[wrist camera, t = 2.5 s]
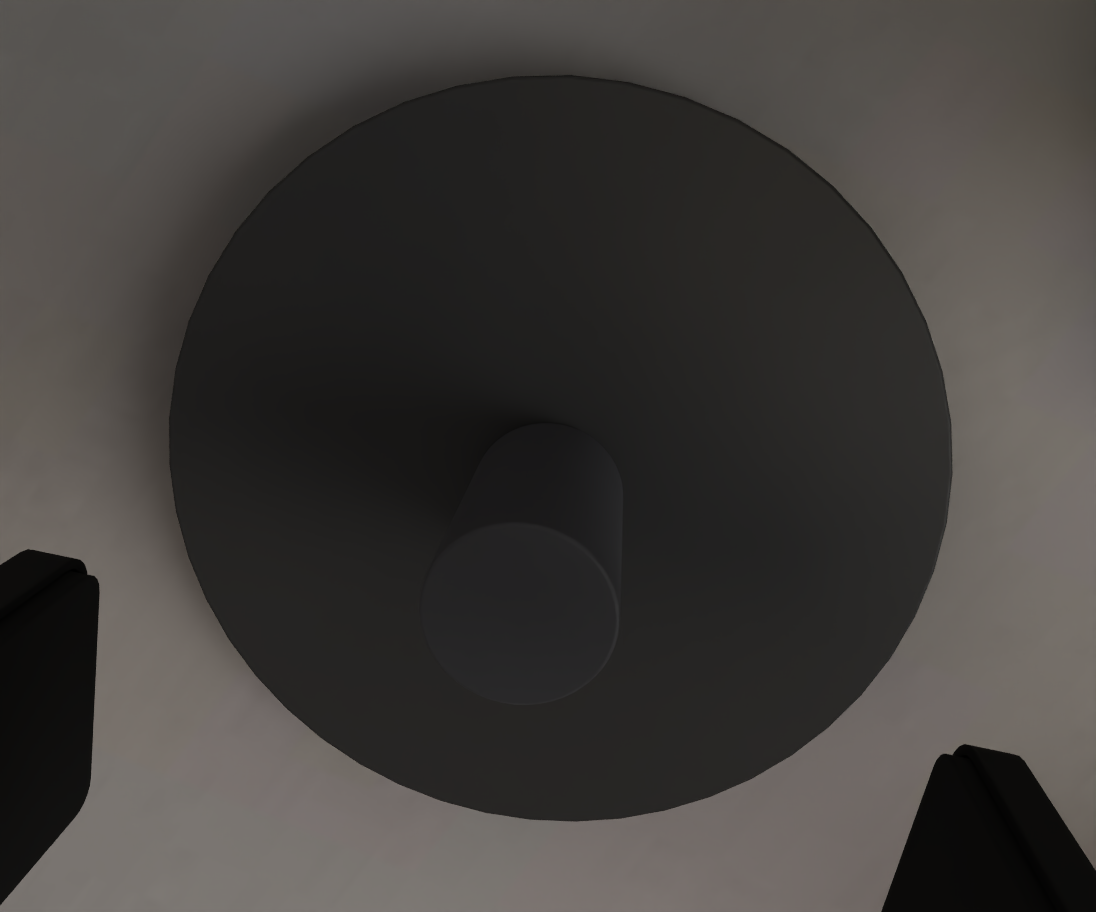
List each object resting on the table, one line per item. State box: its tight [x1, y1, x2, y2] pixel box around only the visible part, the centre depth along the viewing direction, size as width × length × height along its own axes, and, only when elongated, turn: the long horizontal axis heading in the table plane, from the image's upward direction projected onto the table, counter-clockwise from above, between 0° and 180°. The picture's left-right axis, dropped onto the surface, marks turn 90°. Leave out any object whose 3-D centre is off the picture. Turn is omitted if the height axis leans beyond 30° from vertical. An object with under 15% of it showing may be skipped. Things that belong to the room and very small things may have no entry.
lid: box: [169, 75, 952, 821], centre depth 16 cm, size 15×15×6 cm
